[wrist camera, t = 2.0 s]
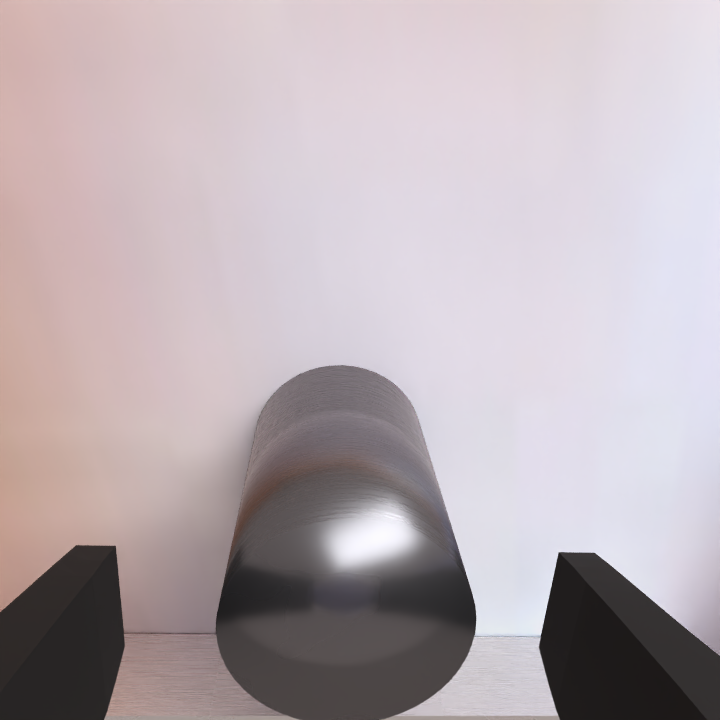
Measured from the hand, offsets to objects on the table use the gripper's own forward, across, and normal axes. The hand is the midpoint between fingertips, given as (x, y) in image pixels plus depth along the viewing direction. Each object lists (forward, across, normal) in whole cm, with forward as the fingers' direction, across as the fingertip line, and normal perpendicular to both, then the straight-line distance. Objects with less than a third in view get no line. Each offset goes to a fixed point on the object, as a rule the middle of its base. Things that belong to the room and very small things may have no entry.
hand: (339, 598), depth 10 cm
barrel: (+5, 0, 0) cm, 5 cm away
